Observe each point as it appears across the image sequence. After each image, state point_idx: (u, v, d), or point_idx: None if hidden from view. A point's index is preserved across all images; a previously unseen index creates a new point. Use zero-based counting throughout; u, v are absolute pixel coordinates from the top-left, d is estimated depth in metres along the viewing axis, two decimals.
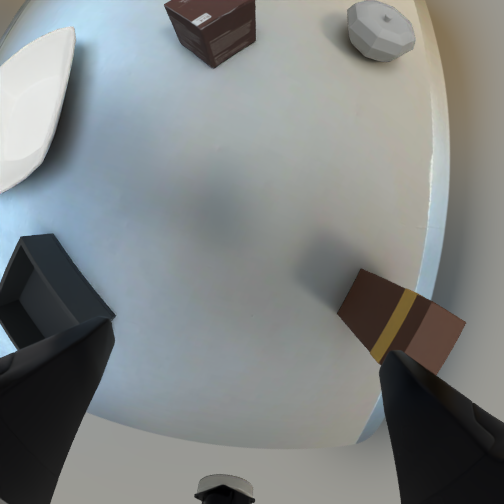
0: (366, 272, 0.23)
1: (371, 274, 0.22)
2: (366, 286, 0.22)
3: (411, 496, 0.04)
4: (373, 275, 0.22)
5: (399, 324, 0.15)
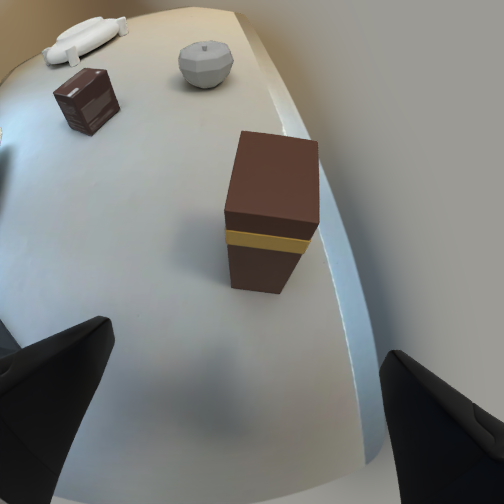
0: None
1: None
2: None
3: (411, 496, 0.04)
4: None
5: None
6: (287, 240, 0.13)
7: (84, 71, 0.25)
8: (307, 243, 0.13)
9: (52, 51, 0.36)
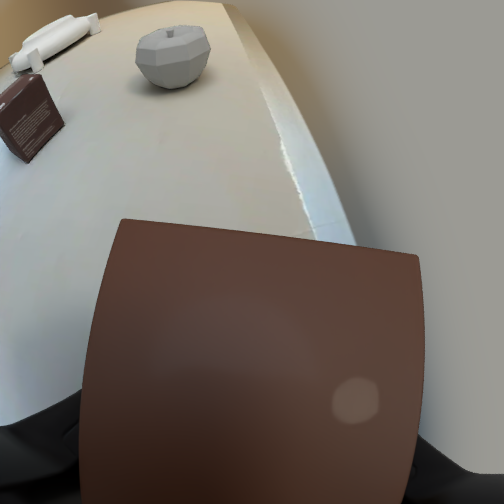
0: None
1: None
2: None
3: None
4: None
5: None
6: None
7: (20, 79, 0.15)
8: None
9: (16, 56, 0.26)
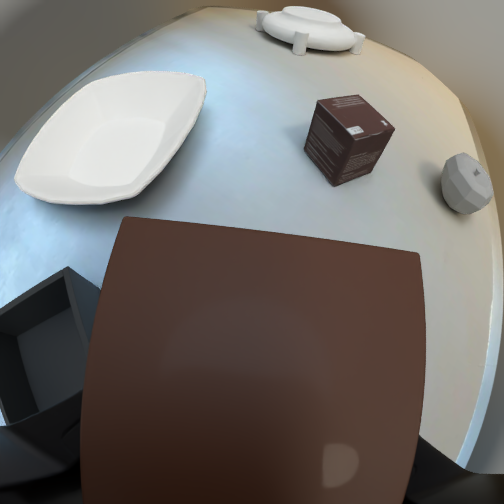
0: None
1: None
2: None
3: None
4: None
5: None
6: None
7: (361, 102, 0.23)
8: None
9: (275, 20, 0.39)
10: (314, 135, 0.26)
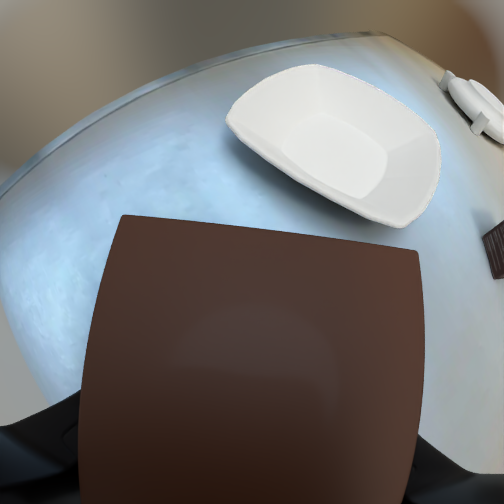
0: None
1: None
2: None
3: None
4: None
5: None
6: None
7: None
8: None
9: (463, 89, 0.35)
10: (499, 233, 0.22)
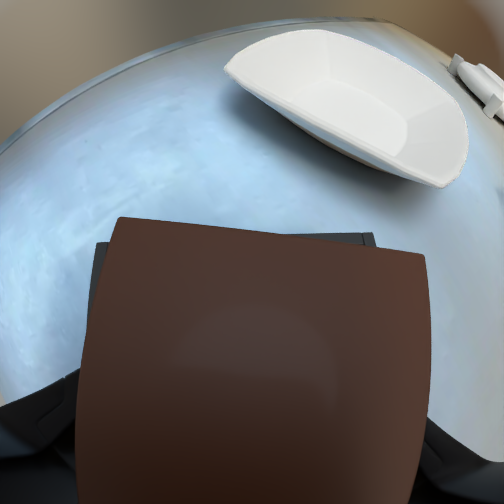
0: None
1: None
2: None
3: None
4: None
5: None
6: None
7: None
8: None
9: (473, 72, 0.30)
10: None
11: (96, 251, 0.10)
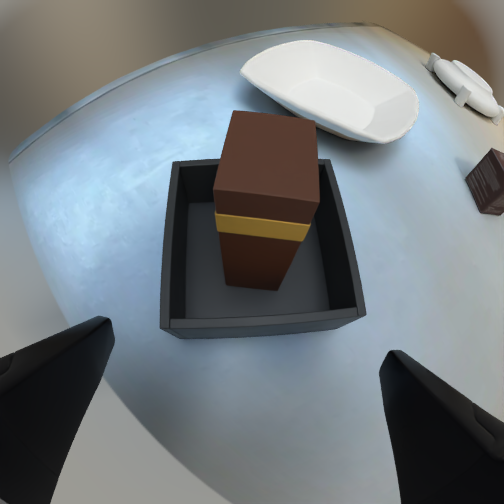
0: None
1: None
2: None
3: (411, 496, 0.04)
4: None
5: None
6: (284, 224, 0.11)
7: None
8: (306, 228, 0.12)
9: (446, 68, 0.38)
10: (479, 170, 0.25)
11: (173, 165, 0.19)
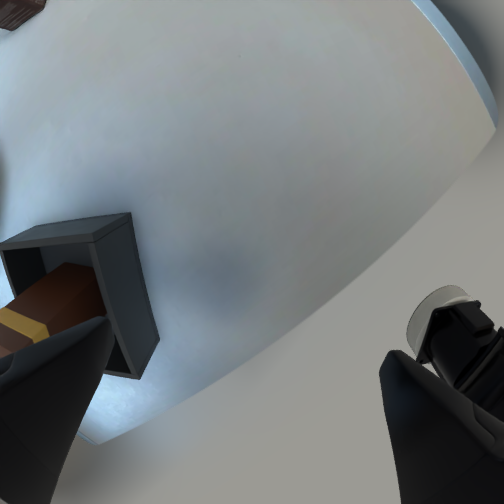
0: None
1: None
2: None
3: (411, 496, 0.04)
4: None
5: None
6: None
7: None
8: (34, 337, 0.12)
9: None
10: (0, 23, 0.09)
11: None
